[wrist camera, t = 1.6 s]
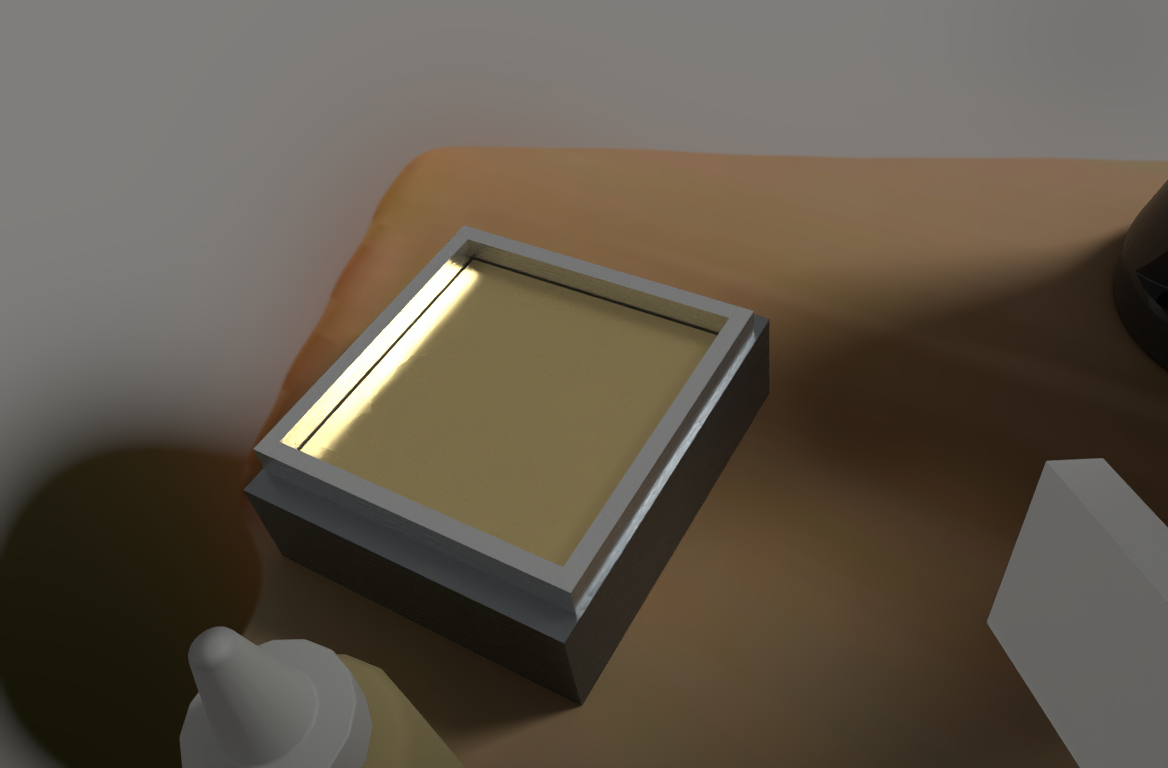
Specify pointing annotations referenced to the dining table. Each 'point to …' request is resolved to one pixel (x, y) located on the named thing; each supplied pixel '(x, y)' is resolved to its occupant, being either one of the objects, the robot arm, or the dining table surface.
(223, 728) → the squeeze bottle
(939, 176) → the dining table surface
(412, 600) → the square box
